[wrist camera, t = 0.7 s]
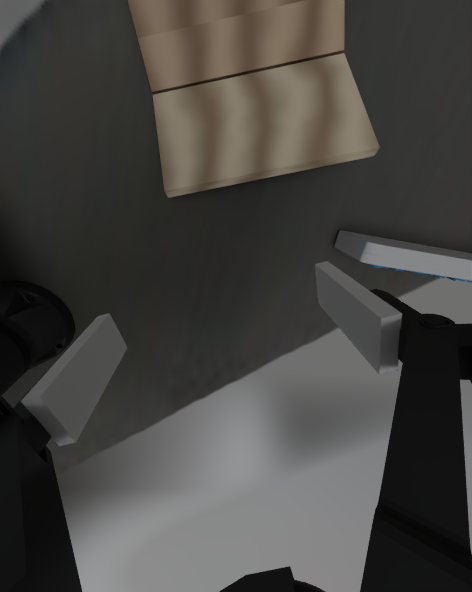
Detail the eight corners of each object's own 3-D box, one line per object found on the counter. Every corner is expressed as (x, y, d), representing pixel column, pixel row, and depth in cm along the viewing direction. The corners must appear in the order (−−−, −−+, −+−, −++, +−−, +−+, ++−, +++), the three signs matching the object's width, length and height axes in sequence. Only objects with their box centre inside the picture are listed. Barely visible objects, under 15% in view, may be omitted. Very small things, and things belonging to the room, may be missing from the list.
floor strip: (154, 95, 31) (151, 91, 30) (125, -16, 27) (121, -24, 26) (339, 54, 31) (344, 49, 30) (339, -66, 26) (344, -77, 25)
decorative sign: (329, 251, 41) (359, 270, 32) (337, 228, 40) (371, 242, 31) (492, 279, 45) (560, 303, 36) (505, 259, 44) (579, 279, 35)
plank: (168, 197, 28) (164, 191, 27) (156, 104, 32) (152, 94, 30) (374, 155, 28) (379, 147, 26) (340, 64, 31) (344, 53, 30)
